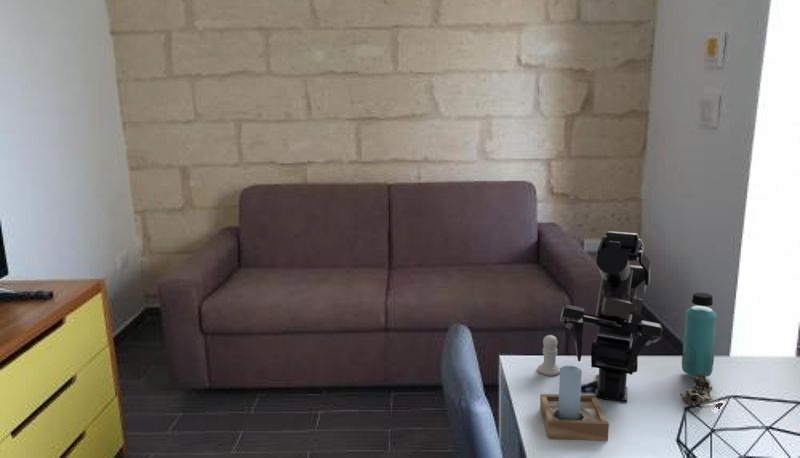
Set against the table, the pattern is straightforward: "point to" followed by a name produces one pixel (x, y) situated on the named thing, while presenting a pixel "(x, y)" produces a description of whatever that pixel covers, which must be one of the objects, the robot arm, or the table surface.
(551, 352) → the chess piece
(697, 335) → the beverage bottle
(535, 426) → the table surface
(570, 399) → the peg
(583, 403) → the walnut box
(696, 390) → the crumpled brown clump
